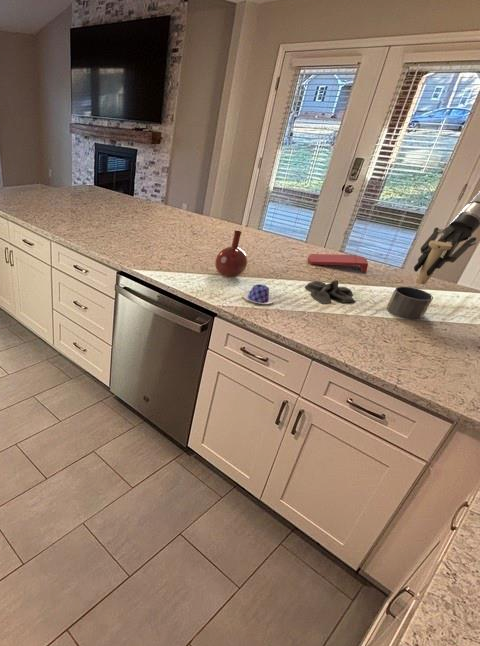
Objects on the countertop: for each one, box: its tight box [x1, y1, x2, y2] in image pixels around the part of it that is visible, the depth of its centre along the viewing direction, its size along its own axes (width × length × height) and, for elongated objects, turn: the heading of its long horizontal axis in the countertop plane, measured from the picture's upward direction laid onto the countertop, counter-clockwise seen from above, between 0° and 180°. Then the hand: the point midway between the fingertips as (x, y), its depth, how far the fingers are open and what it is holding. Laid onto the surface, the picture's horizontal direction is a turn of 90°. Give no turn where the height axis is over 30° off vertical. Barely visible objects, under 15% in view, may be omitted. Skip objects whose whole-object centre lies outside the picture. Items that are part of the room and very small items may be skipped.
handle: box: [415, 240, 452, 285], centre depth 148 cm, size 5×6×15 cm
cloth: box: [304, 279, 356, 305], centre depth 169 cm, size 22×19×6 cm
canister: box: [385, 286, 434, 321], centre depth 157 cm, size 12×12×8 cm
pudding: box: [242, 283, 275, 305], centre depth 163 cm, size 12×12×5 cm
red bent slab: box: [307, 253, 369, 273], centre depth 200 cm, size 12×5×25 cm
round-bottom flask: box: [214, 230, 248, 279], centre depth 177 cm, size 13×13×20 cm
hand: (421, 271), depth 148 cm, fingers closed on handle, 4 cm apart
